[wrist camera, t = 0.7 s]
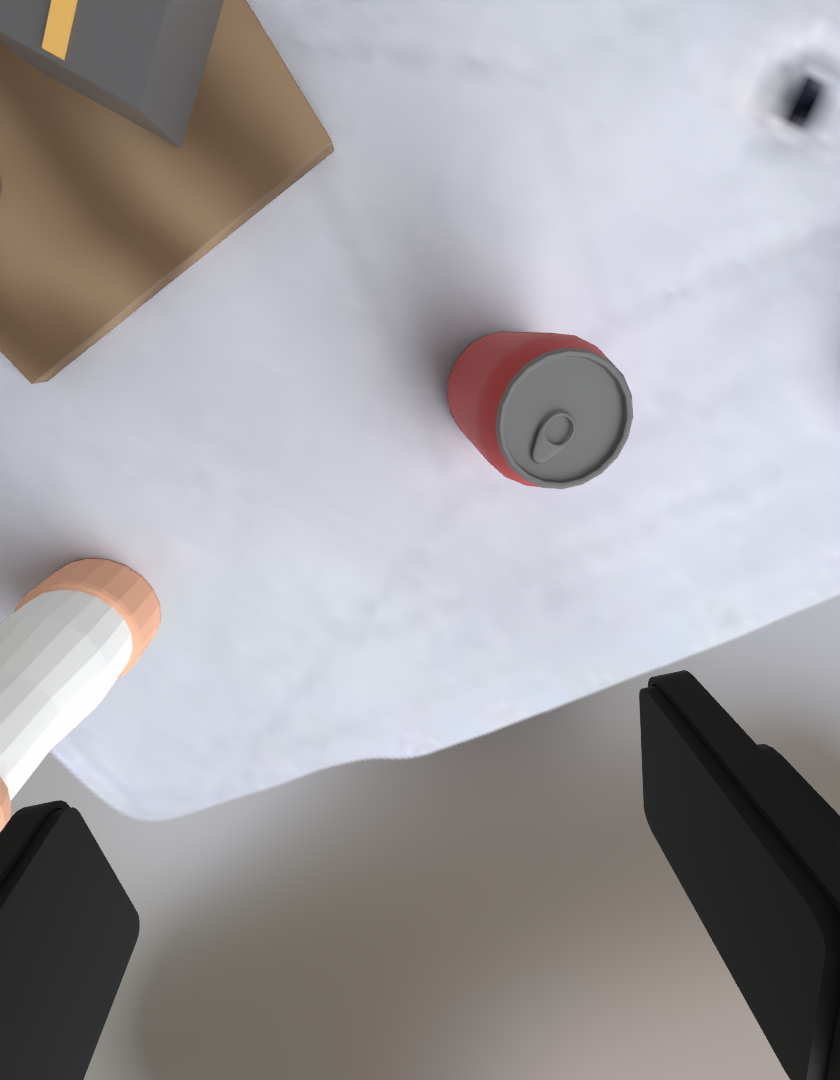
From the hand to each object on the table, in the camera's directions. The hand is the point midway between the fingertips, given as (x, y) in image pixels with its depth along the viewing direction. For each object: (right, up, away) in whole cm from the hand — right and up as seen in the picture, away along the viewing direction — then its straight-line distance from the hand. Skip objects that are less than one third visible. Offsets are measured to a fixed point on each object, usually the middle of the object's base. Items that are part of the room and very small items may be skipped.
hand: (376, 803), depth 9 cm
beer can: (+6, +13, +24) cm, 28 cm away
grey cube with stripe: (-12, +27, +15) cm, 33 cm away
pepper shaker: (-20, 0, +27) cm, 34 cm away
